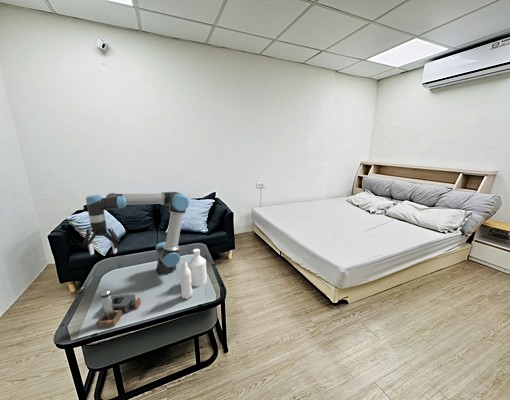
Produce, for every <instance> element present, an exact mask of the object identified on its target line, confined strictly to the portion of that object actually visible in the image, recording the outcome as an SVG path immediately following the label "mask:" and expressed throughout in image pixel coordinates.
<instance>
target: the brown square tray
mask: <svg viewBox="0 0 510 400" xmlns="http://www.w3.org/2000/svg"><path fill="white" fill-rule="evenodd" d="M114 314H115V317H114V318H113V320H105V316H104V314H103V313H102V316H101V317H100V318H99V319H98V320H97V321H96V327H97V328H110V327H111V328H112V326H113V327H115V326H116V325H117V323H119V321H120V319H121V318H122V316H123V315H124V313H123V312H122V310H114Z"/></svg>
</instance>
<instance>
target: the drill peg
mask: <svg viewBox="0 0 510 400" xmlns="http://www.w3.org/2000/svg"><path fill="white" fill-rule="evenodd" d="M99 296H100V300H101V304H102V305H101V307H103V310H102V312H103V311H104V316H105V320H113V318H114V317H115V314H114V308H113V303H112V298H111V296H112V292H111V289H108V288H106V289H103V290H101V291H100V292H99Z"/></svg>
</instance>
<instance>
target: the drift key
mask: <svg viewBox="0 0 510 400" xmlns="http://www.w3.org/2000/svg"><path fill="white" fill-rule="evenodd" d="M141 303H142V302H141V297H137V298H136V300H132V301H131V303H130V308H131V309H139V307H140V306H141V305H142V304H141Z"/></svg>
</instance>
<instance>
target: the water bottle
mask: <svg viewBox="0 0 510 400" xmlns="http://www.w3.org/2000/svg"><path fill="white" fill-rule="evenodd" d="M180 267H181V268H180V271H179V273H178V274H179V284H180V288H181V289H180V296H181V298H182V299H186V300H188V299H190V298H191V297H192V296H193V293H194V292H193V287H192V285H191V281H192V280H191V271H190V270H189V266H188V262H187V261H186V260H182V261H181V265H180Z"/></svg>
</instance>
